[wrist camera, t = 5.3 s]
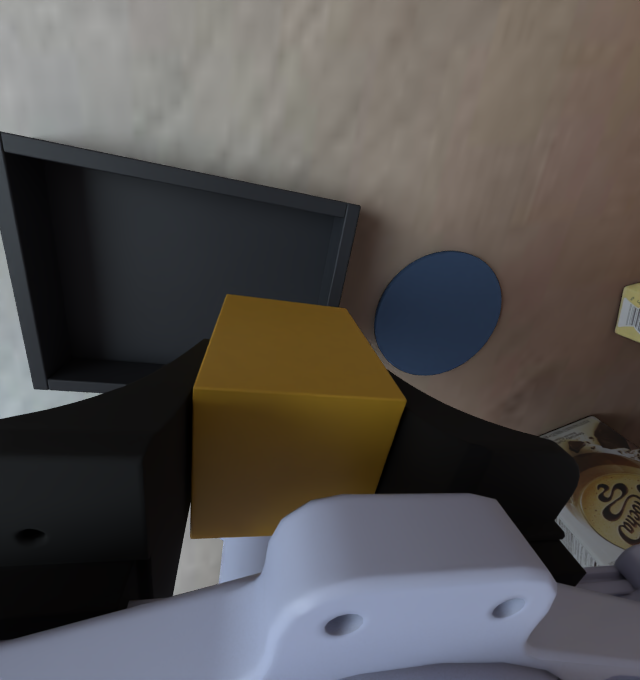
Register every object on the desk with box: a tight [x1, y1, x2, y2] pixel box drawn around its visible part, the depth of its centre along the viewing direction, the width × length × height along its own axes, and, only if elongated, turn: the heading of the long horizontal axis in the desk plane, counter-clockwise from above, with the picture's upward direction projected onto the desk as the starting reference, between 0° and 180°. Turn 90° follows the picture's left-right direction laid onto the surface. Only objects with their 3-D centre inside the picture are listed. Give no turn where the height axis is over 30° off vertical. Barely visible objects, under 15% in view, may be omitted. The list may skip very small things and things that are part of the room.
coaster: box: [374, 251, 501, 375], centre depth 22 cm, size 9×9×1 cm
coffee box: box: [539, 416, 640, 567], centre depth 23 cm, size 9×6×16 cm
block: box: [190, 294, 407, 539], centre depth 10 cm, size 4×4×6 cm
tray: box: [0, 131, 361, 393], centre depth 17 cm, size 15×12×3 cm
